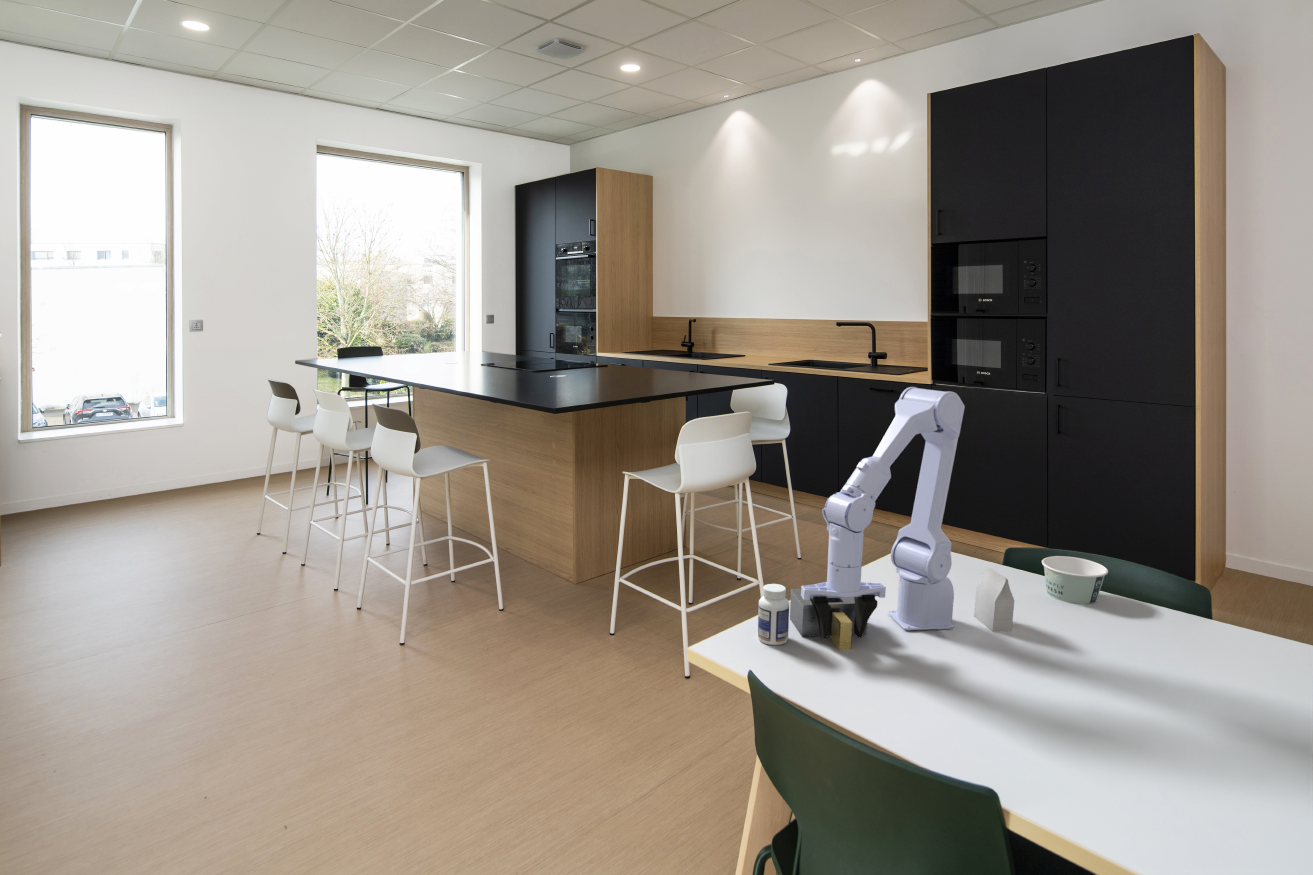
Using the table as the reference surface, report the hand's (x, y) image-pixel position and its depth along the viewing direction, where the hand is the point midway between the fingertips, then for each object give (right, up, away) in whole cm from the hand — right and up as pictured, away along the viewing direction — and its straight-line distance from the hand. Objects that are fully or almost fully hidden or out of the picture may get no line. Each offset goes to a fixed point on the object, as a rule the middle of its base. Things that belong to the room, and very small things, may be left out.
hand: (840, 635), depth 134 cm
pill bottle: (-12, -1, +2) cm, 12 cm away
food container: (+53, +2, +23) cm, 58 cm away
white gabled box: (+31, 0, +9) cm, 32 cm away
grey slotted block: (-1, 0, +7) cm, 7 cm away
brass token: (0, -1, 0) cm, 2 cm away
